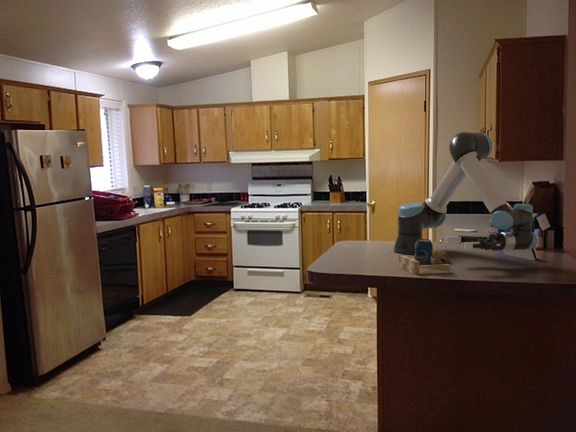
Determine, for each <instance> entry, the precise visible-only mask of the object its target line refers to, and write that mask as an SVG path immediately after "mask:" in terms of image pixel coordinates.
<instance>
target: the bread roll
mask: <svg viewBox="0 0 576 432" xmlns="http://www.w3.org/2000/svg"><path fill="white" fill-rule="evenodd" d="M432 258H433V259H435V264H447V263H448V262H449V255H448V253H447V252H446V251H445V250H444V249H443V248H439V247H433V249H432Z"/></svg>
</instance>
